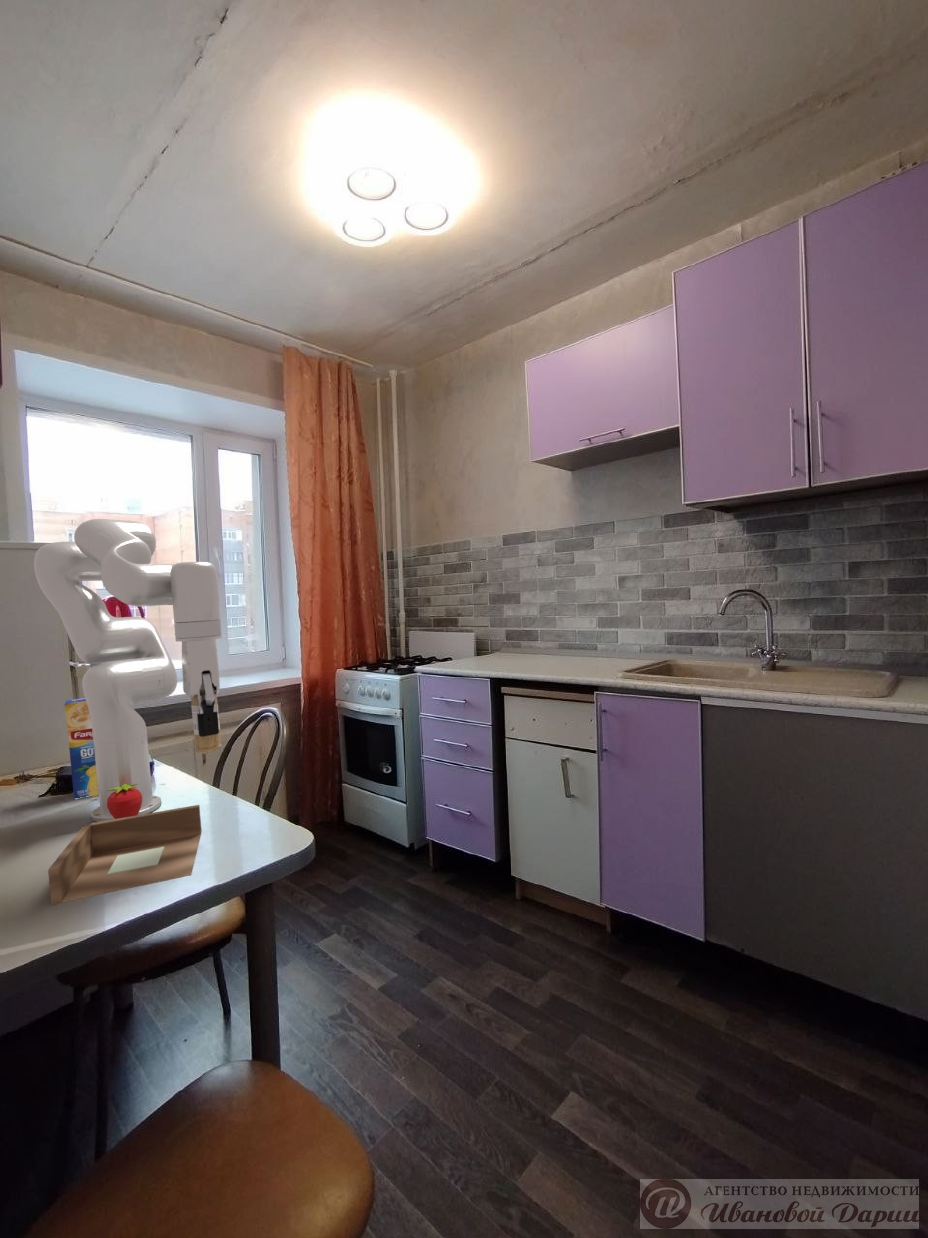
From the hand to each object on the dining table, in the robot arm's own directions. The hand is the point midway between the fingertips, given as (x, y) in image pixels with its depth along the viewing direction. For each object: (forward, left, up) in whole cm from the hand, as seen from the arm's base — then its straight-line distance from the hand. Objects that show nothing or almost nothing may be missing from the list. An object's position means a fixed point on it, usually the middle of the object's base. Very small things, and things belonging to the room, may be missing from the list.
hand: (206, 731), depth 102 cm
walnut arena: (+7, -11, -19) cm, 23 cm away
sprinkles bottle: (0, 0, -4) cm, 4 cm away
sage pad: (+6, -11, -18) cm, 23 cm away
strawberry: (-13, -16, -19) cm, 28 cm away
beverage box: (-44, -27, -19) cm, 55 cm away
